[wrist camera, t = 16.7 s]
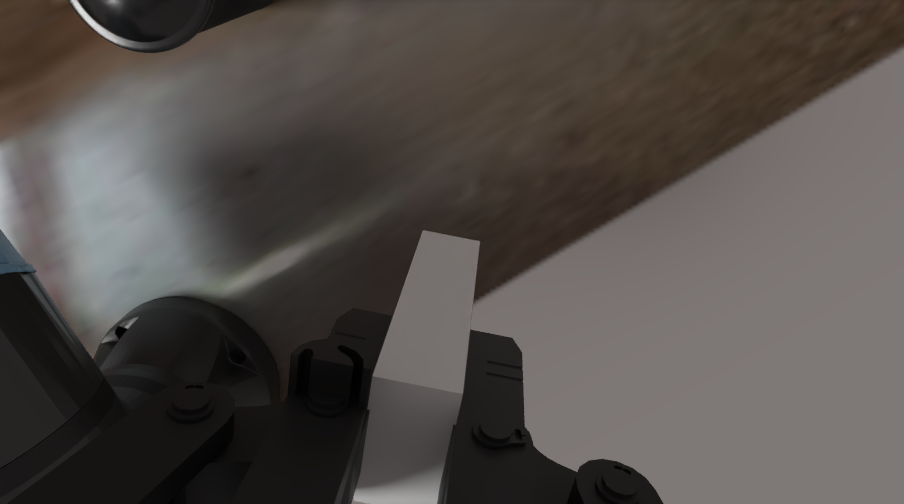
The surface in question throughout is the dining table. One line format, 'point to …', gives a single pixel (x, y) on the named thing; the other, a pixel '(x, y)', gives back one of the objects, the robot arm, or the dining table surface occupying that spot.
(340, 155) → the dining table surface
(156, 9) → the drinking cup
